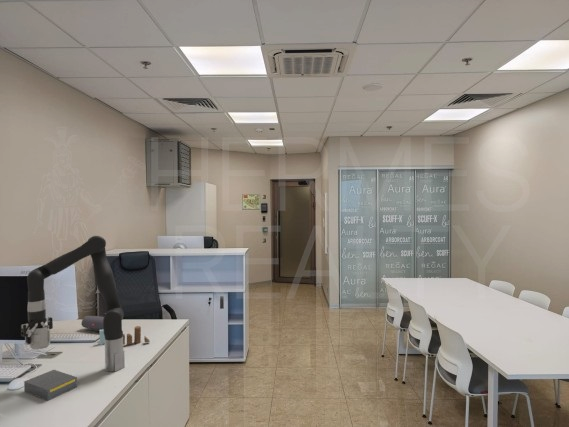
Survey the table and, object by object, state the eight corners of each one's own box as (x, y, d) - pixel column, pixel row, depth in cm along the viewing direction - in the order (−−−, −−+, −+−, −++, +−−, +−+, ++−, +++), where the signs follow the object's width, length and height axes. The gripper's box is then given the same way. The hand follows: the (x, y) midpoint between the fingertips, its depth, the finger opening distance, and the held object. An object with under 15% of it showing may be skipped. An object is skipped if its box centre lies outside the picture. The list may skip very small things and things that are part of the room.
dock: (77, 387, 176) (77, 377, 176) (47, 400, 164) (47, 390, 163) (53, 379, 185) (53, 369, 184) (24, 391, 172) (24, 381, 172)
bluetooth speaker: (80, 330, 258) (80, 317, 258) (91, 326, 267) (90, 313, 267) (105, 333, 252) (105, 319, 252) (115, 329, 261) (115, 316, 261)
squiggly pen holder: (115, 343, 234) (115, 329, 234) (99, 345, 231) (99, 330, 231) (119, 334, 251) (119, 321, 251) (104, 335, 248) (104, 322, 248)
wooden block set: (119, 349, 224) (119, 333, 223) (118, 343, 231) (119, 328, 231) (149, 344, 232) (150, 329, 231) (148, 339, 240) (148, 324, 239)
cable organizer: (31, 346, 183) (30, 326, 183) (53, 345, 184) (52, 324, 184) (23, 351, 177) (22, 330, 177) (46, 349, 178) (45, 328, 178)
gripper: (25, 313, 172) (26, 347, 172) (55, 306, 185) (56, 337, 185) (16, 312, 175) (17, 344, 175) (47, 304, 188) (47, 335, 188)
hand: (37, 341), depth 180 cm, fingers closed on cable organizer, 7 cm apart
